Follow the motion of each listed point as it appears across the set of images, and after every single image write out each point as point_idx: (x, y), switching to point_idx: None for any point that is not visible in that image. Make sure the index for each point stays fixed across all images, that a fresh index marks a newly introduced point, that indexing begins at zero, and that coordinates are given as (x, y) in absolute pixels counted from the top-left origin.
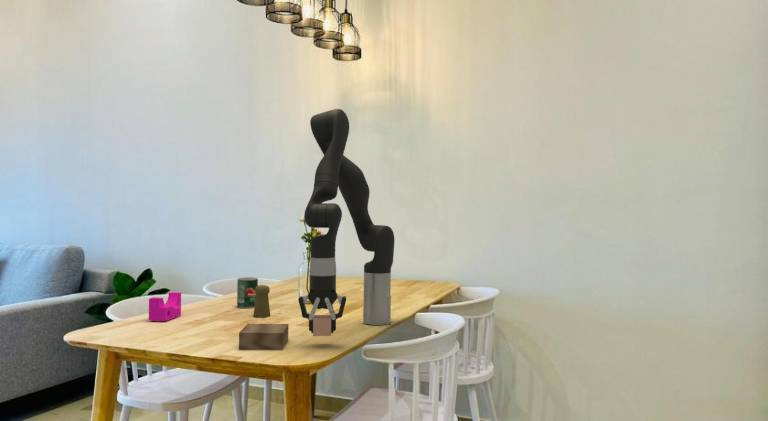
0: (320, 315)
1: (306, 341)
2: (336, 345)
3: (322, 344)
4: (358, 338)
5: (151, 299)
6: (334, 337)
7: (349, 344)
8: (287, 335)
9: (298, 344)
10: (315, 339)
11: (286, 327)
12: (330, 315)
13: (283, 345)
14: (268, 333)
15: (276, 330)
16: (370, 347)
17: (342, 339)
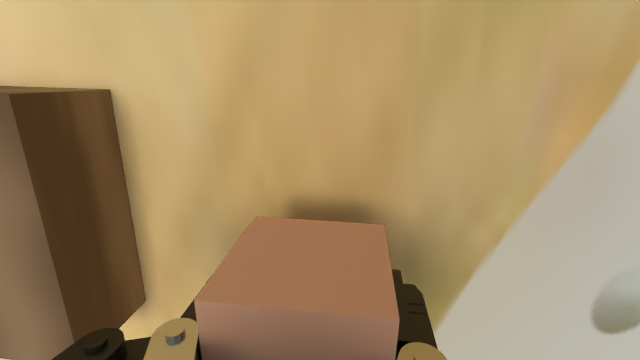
0: (266, 339)
1: (226, 139)
2: (407, 239)
3: (326, 213)
4: (596, 50)
5: None
6: (408, 18)
7: (490, 221)
8: (89, 136)
9: (194, 207)
10: (275, 85)
11: (43, 219)
12: (382, 350)
13: (132, 289)
14: (6, 355)
15: (18, 308)
16: (607, 292)
17: (463, 85)
